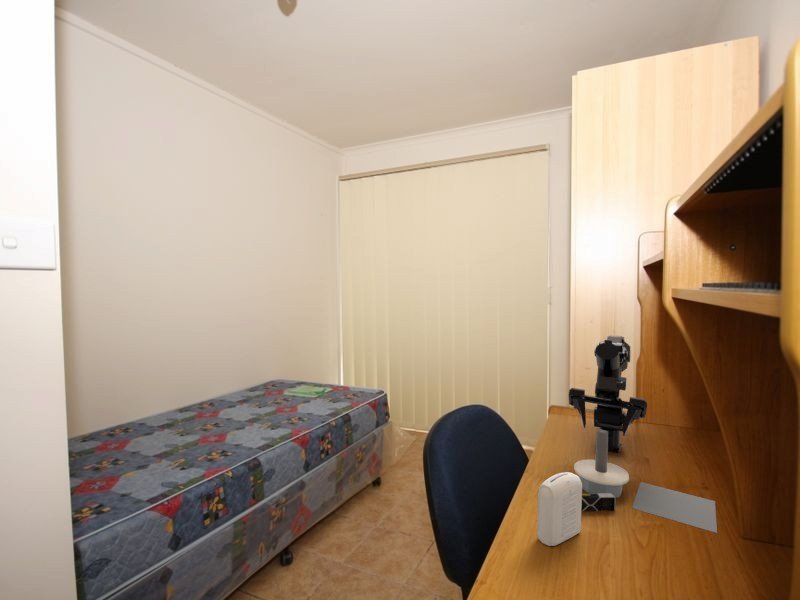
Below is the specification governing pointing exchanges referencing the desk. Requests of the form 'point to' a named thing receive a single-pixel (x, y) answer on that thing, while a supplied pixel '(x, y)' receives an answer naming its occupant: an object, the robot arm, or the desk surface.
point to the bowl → (600, 488)
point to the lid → (601, 465)
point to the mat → (676, 506)
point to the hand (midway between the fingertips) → (603, 431)
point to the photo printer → (559, 508)
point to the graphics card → (598, 502)
